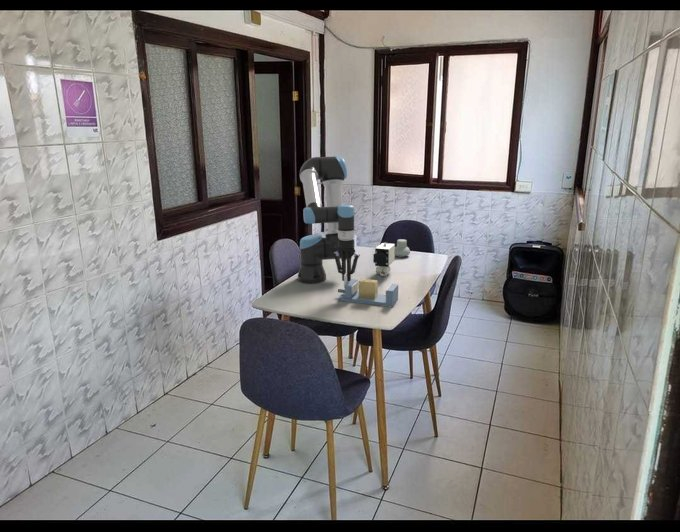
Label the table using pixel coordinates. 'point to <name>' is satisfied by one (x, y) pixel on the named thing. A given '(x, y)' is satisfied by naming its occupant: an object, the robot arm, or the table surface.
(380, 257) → the white pneumatic actuator
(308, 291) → the table surface
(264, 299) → the table surface
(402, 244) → the air freshener
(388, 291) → the vise
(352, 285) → the free jaw
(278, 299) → the table surface
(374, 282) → the wooden block
